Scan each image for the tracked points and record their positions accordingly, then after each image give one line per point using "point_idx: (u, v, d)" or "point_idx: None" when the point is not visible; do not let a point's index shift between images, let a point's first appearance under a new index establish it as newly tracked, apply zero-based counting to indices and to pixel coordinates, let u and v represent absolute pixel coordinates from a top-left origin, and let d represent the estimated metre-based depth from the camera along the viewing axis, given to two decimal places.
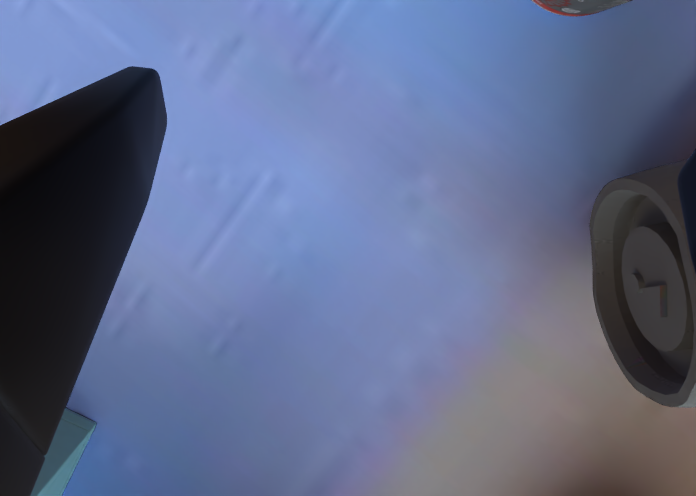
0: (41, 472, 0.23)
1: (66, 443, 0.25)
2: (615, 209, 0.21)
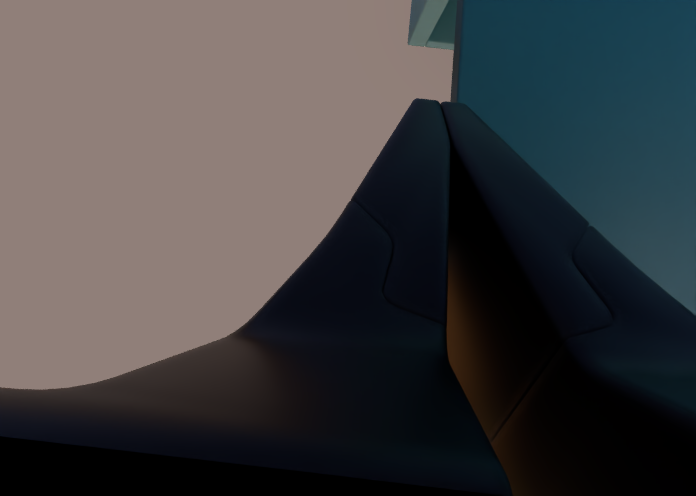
0: None
1: None
2: None
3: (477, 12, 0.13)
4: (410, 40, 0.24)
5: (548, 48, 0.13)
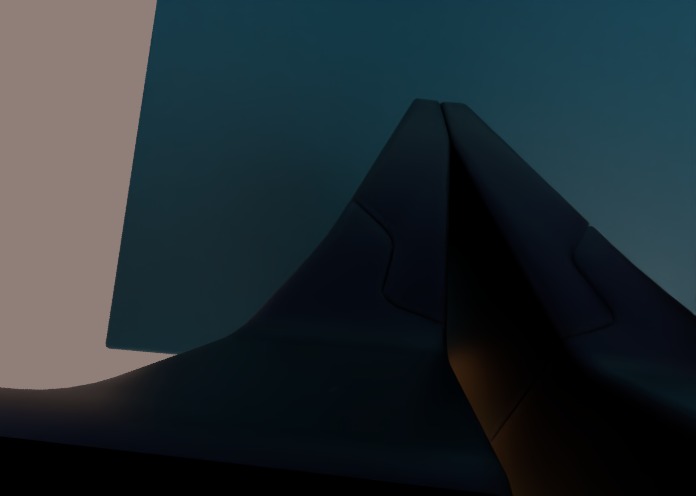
0: None
1: None
2: None
3: None
4: None
5: (251, 7, 0.12)
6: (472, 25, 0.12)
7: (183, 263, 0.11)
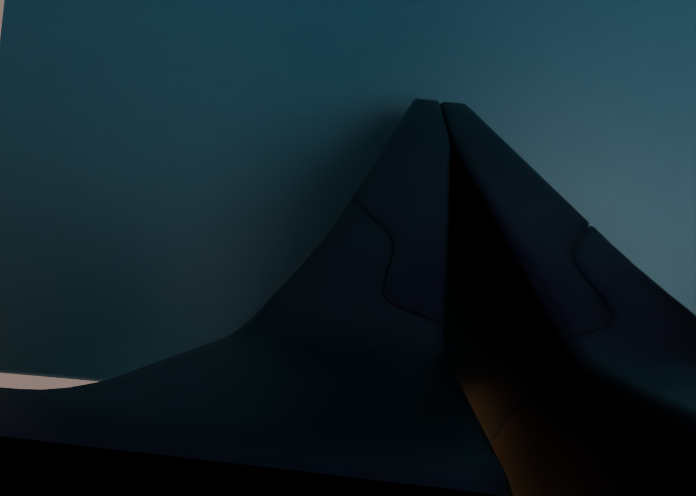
0: None
1: None
2: None
3: None
4: None
5: None
6: None
7: (61, 264, 0.09)
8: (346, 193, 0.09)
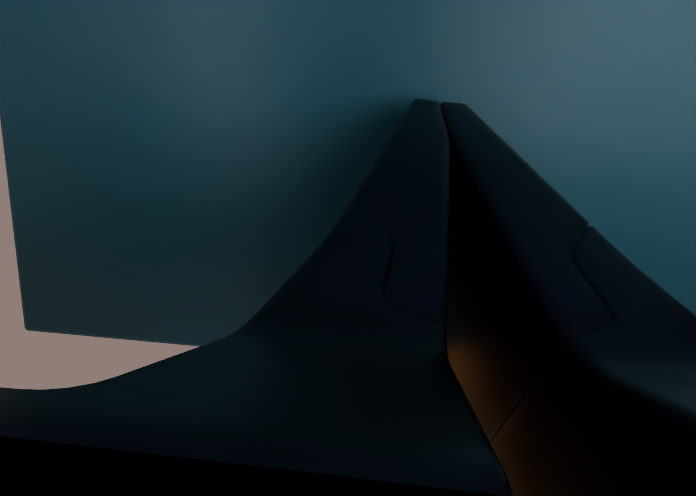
0: None
1: None
2: None
3: None
4: None
5: None
6: None
7: (89, 249, 0.10)
8: (346, 188, 0.10)
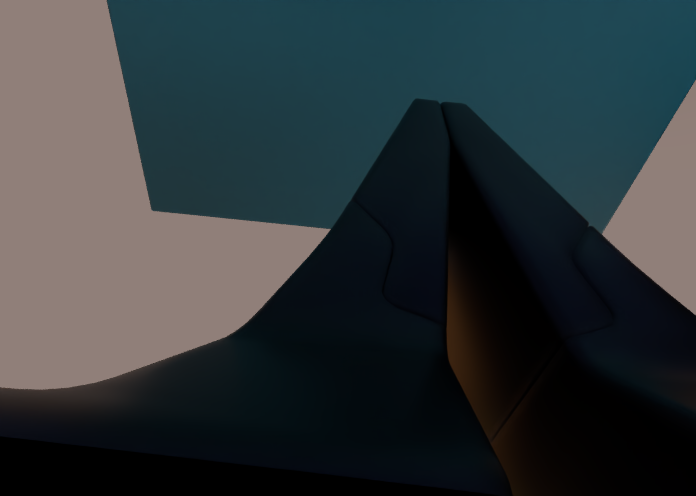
0: None
1: None
2: None
3: None
4: None
5: None
6: None
7: (187, 169, 0.16)
8: (345, 139, 0.15)
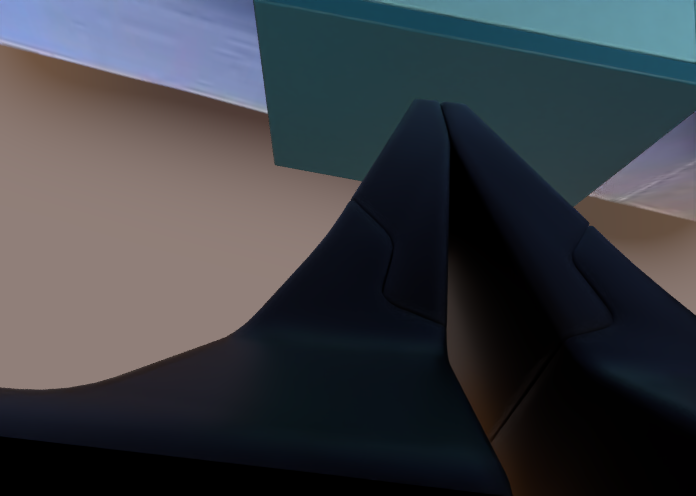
0: None
1: None
2: None
3: (270, 57, 0.19)
4: None
5: (321, 79, 0.19)
6: None
7: (301, 153, 0.25)
8: None
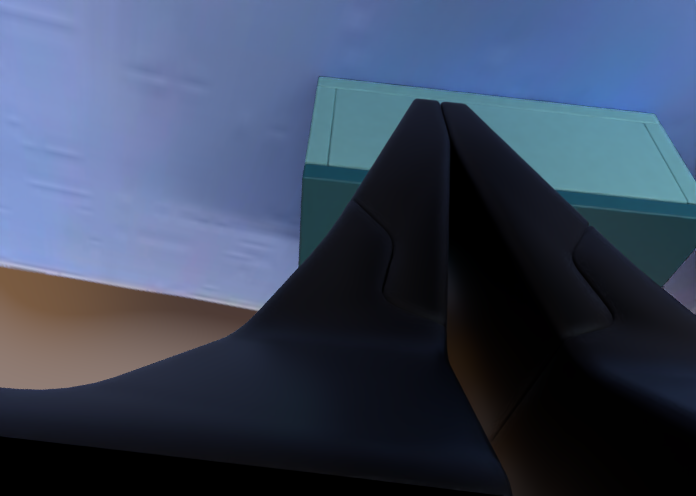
0: None
1: None
2: None
3: (309, 231, 0.20)
4: None
5: None
6: None
7: None
8: None
